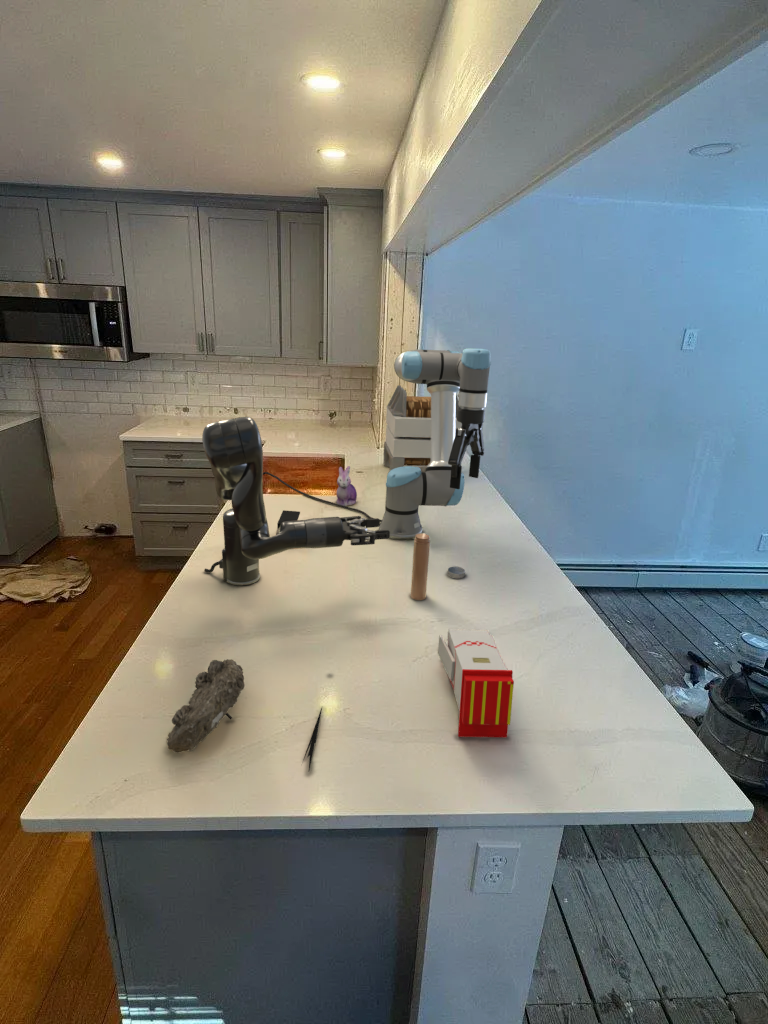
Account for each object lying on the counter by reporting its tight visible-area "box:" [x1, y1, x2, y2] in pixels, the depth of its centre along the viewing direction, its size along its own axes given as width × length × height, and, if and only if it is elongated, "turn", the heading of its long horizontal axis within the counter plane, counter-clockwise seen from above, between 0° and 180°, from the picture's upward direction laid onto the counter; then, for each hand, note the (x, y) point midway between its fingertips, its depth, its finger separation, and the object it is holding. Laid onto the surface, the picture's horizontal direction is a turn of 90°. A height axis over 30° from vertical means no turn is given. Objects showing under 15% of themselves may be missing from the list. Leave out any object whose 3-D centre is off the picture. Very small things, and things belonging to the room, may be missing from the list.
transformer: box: [383, 384, 462, 471], centre depth 268 cm, size 34×33×41 cm
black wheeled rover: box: [275, 509, 301, 535], centre depth 191 cm, size 7×8×15 cm
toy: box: [437, 628, 515, 738], centre depth 117 cm, size 12×13×30 cm
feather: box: [301, 673, 332, 771], centre depth 108 cm, size 2×28×2 cm
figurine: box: [335, 465, 358, 507], centre depth 226 cm, size 9×10×15 cm
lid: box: [446, 566, 466, 580], centre depth 171 cm, size 5×5×2 cm
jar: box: [409, 533, 431, 601], centre depth 154 cm, size 4×4×18 cm
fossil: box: [166, 658, 245, 754], centre depth 106 cm, size 22×10×15 cm
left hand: (384, 528), depth 146 cm, fingers open, 8 cm apart
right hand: (464, 482), depth 161 cm, fingers open, 13 cm apart
